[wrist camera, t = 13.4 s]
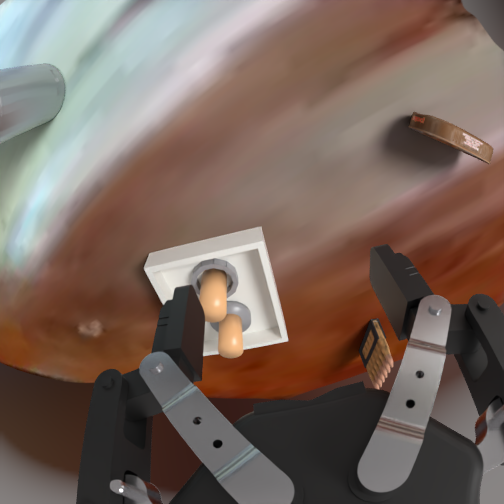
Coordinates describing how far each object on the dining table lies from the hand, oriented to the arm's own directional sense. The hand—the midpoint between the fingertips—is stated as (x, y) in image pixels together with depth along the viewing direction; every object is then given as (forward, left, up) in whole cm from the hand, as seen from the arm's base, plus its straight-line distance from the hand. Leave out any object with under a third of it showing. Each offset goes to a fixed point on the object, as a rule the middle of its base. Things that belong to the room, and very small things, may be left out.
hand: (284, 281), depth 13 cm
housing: (-11, -24, -29) cm, 39 cm away
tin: (+28, -3, -29) cm, 41 cm away
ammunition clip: (+15, -45, -29) cm, 56 cm away
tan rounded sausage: (-11, -20, -28) cm, 36 cm away
